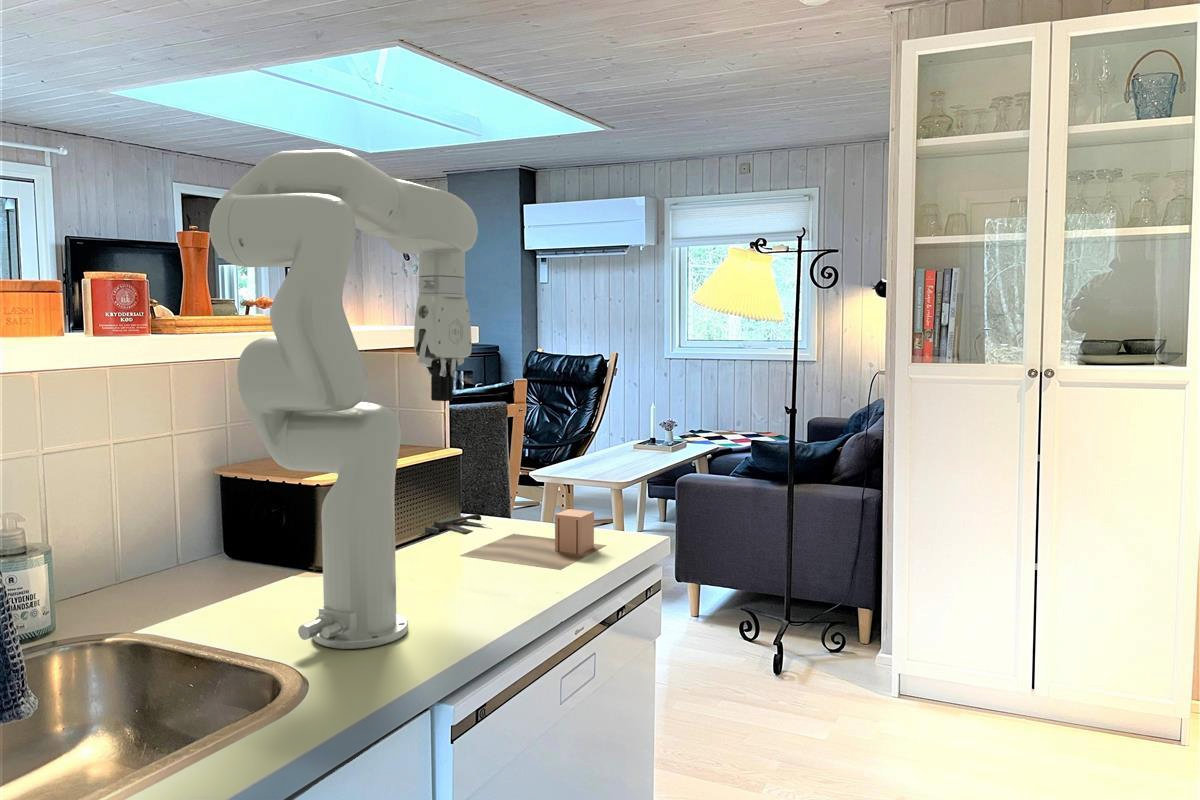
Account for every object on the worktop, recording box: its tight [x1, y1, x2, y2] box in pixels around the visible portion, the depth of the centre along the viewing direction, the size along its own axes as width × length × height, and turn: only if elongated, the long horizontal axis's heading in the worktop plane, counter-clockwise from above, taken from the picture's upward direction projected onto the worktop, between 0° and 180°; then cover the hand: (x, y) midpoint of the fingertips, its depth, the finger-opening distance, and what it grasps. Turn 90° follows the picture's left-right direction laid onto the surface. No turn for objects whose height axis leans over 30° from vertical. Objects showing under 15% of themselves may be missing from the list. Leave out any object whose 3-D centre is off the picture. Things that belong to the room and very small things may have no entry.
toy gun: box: [424, 513, 493, 535], centre depth 180 cm, size 3×19×15 cm
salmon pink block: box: [554, 508, 595, 554], centre depth 160 cm, size 5×5×7 cm
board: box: [459, 533, 608, 571], centre depth 159 cm, size 18×20×2 cm
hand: (441, 400), depth 147 cm, fingers closed
